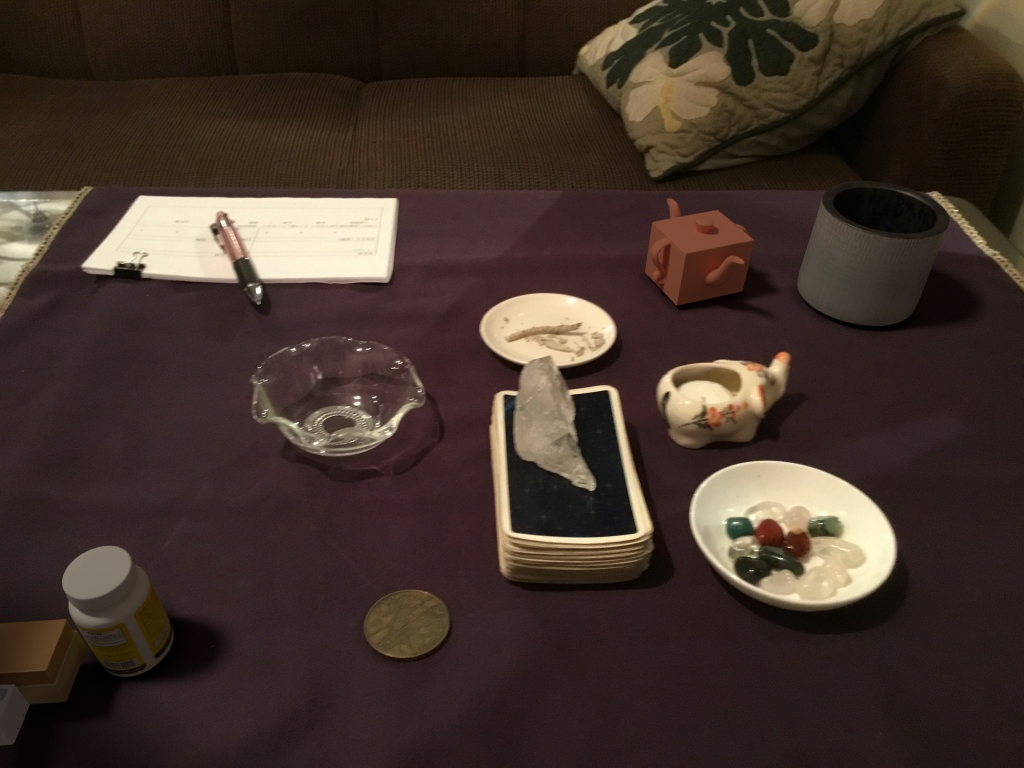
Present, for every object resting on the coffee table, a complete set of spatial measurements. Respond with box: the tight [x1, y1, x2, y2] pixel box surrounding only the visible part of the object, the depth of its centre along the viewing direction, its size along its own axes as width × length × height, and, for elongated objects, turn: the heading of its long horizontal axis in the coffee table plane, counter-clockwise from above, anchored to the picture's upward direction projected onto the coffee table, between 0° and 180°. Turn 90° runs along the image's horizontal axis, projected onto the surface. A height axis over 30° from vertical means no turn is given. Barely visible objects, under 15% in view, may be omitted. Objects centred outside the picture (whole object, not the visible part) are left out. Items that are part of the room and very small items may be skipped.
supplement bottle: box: [61, 545, 175, 678], centre depth 51 cm, size 5×5×8 cm
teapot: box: [644, 197, 755, 307], centre depth 86 cm, size 12×15×8 cm
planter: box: [796, 180, 951, 327], centre depth 84 cm, size 13×12×11 cm
